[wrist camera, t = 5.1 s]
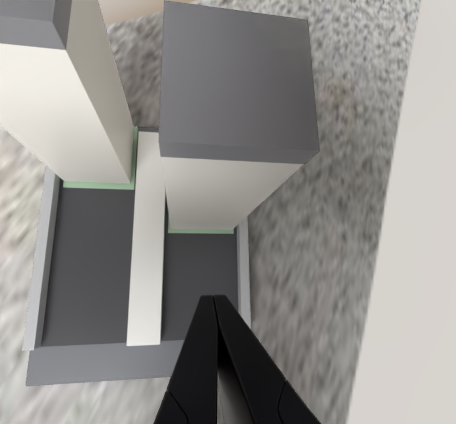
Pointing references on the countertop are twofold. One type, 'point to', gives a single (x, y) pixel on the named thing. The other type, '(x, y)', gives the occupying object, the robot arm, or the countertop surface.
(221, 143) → the tab
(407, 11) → the countertop surface
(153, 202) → the switch board
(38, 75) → the tab
